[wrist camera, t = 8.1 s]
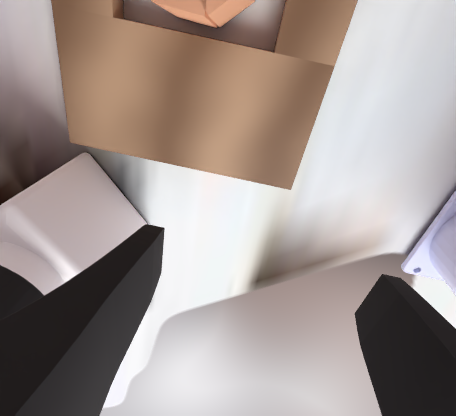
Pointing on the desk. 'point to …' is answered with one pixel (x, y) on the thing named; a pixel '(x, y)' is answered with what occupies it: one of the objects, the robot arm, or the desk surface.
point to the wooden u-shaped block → (198, 88)
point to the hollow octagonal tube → (205, 10)
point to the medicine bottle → (59, 230)
